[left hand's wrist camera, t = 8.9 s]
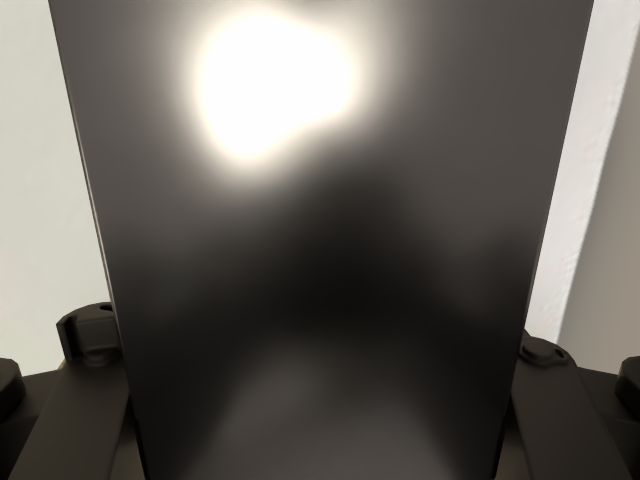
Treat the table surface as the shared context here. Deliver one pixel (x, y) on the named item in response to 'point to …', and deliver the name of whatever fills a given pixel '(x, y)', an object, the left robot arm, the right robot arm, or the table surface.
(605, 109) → the table surface
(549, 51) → the bar
